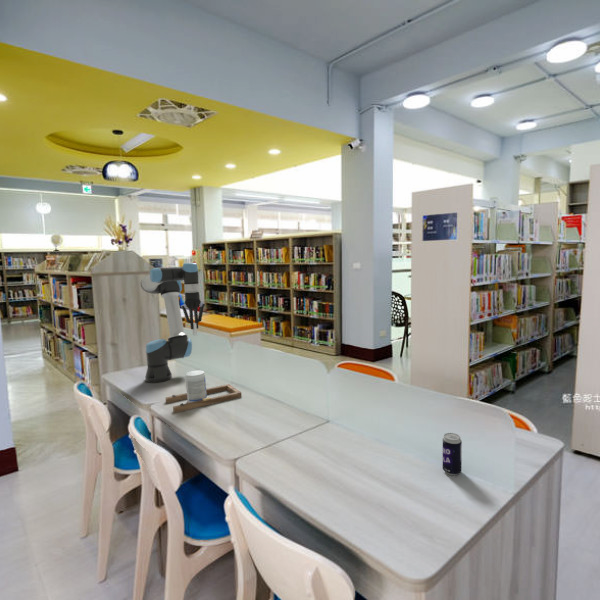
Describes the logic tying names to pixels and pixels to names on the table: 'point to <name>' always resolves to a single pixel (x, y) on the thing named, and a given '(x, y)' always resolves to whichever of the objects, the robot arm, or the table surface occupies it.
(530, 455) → the table surface
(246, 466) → the table surface
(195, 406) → the beam track
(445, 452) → the beverage can
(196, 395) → the supplement tub
